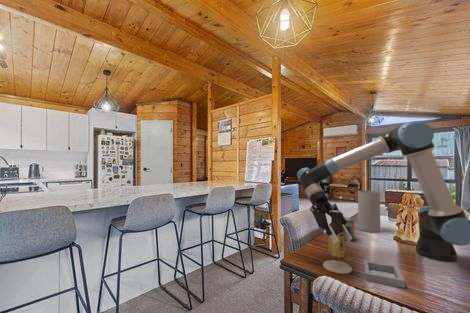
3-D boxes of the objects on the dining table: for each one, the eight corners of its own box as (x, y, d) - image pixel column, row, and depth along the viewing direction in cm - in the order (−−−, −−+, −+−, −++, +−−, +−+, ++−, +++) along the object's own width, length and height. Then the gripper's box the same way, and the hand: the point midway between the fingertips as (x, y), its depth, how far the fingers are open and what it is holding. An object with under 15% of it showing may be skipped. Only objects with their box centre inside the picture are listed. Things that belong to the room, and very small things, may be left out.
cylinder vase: (354, 228, 154) (353, 191, 154) (366, 226, 159) (366, 190, 160) (372, 233, 142) (371, 193, 143) (384, 231, 148) (384, 192, 148)
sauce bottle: (343, 263, 92) (343, 213, 93) (327, 259, 96) (326, 211, 96) (345, 257, 98) (345, 210, 98) (329, 254, 101) (329, 208, 101)
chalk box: (354, 241, 129) (354, 214, 130) (337, 239, 131) (336, 213, 131) (349, 235, 138) (349, 211, 139) (333, 234, 140) (333, 210, 141)
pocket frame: (397, 272, 93) (397, 265, 93) (404, 287, 81) (404, 280, 81) (363, 266, 98) (363, 260, 98) (365, 280, 86) (365, 273, 86)
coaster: (351, 265, 99) (351, 263, 99) (352, 276, 89) (352, 274, 89) (324, 260, 104) (324, 258, 104) (322, 270, 94) (322, 268, 94)
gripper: (328, 199, 115) (355, 243, 99) (295, 201, 108) (319, 248, 93) (336, 189, 110) (366, 234, 94) (302, 191, 104) (328, 239, 88)
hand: (343, 241), depth 93 cm, fingers closed on sauce bottle, 6 cm apart
